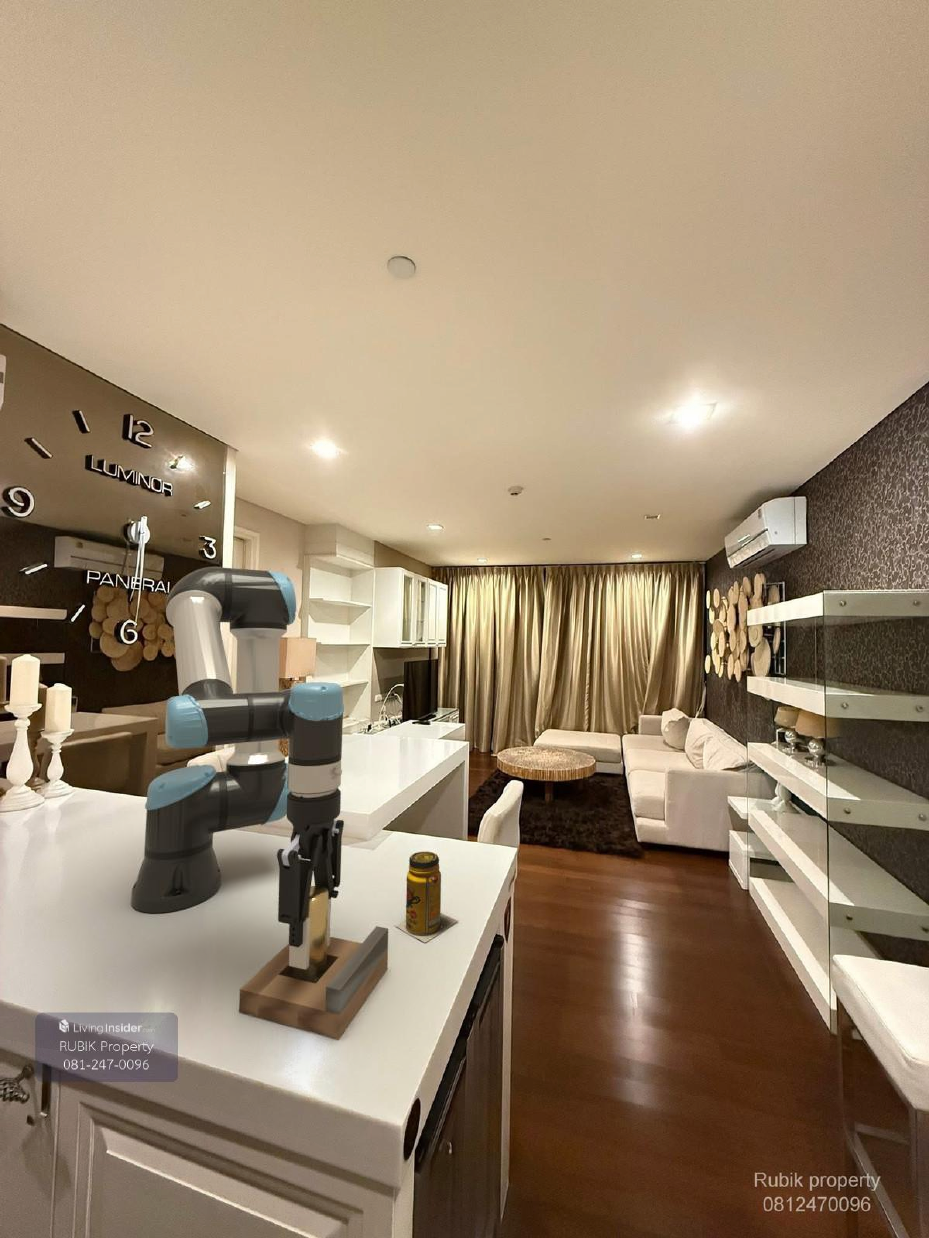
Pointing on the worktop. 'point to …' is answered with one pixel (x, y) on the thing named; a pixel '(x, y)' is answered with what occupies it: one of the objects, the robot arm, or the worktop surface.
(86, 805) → the worktop surface
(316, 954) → the brass cylinder
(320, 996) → the jig
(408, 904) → the condiment
